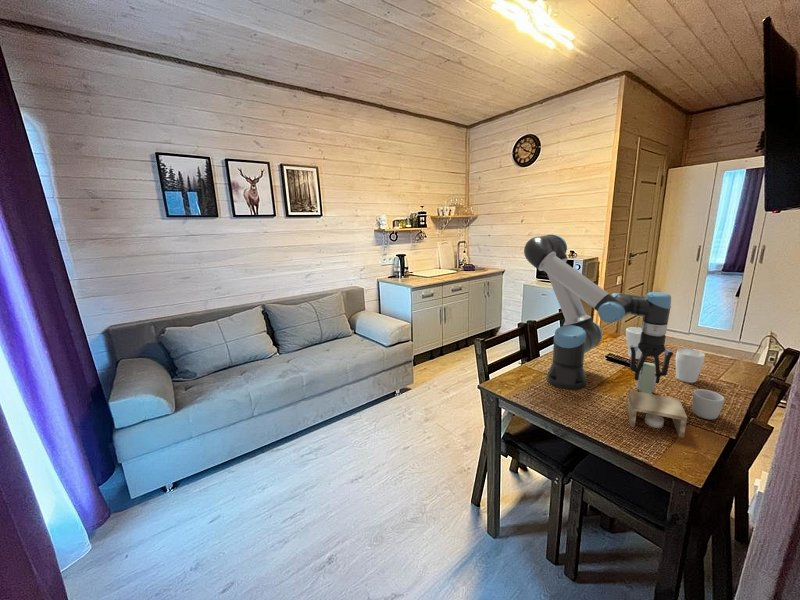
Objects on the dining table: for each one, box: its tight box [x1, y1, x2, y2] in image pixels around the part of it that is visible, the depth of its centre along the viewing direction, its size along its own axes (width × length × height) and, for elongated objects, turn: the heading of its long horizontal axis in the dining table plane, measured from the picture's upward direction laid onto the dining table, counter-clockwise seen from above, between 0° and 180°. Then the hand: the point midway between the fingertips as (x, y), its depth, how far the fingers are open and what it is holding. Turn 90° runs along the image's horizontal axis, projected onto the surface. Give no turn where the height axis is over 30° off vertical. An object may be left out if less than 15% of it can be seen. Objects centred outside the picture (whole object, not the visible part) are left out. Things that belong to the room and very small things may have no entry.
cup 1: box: [625, 326, 643, 360], centre depth 162 cm, size 10×10×14 cm
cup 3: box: [692, 388, 725, 421], centre depth 117 cm, size 11×8×8 cm
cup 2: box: [675, 348, 706, 384], centre depth 140 cm, size 9×9×12 cm
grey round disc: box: [644, 413, 665, 429], centre depth 113 cm, size 5×5×2 cm
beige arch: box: [626, 389, 688, 438], centre depth 114 cm, size 14×12×7 cm
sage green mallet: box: [638, 361, 656, 414], centre depth 125 cm, size 4×21×11 cm, turn 151°
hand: (645, 388), depth 133 cm, fingers closed on sage green mallet, 4 cm apart
